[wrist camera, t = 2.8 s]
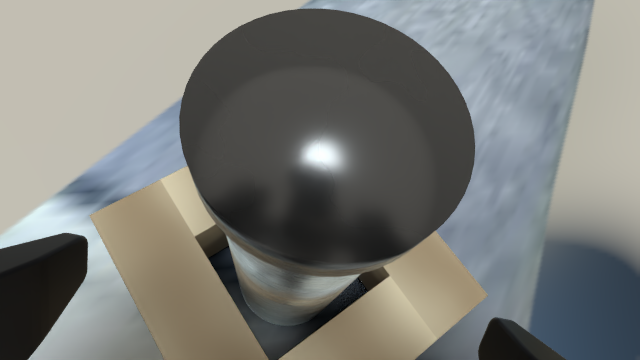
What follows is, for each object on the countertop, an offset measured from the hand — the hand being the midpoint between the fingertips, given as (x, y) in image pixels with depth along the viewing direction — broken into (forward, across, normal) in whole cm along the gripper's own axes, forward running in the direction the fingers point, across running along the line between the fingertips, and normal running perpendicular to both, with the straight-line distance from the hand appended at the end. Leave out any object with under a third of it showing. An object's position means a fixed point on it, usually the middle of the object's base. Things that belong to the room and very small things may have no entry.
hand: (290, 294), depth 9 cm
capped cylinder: (+8, 0, +5) cm, 10 cm away
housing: (+8, 0, +5) cm, 10 cm away
